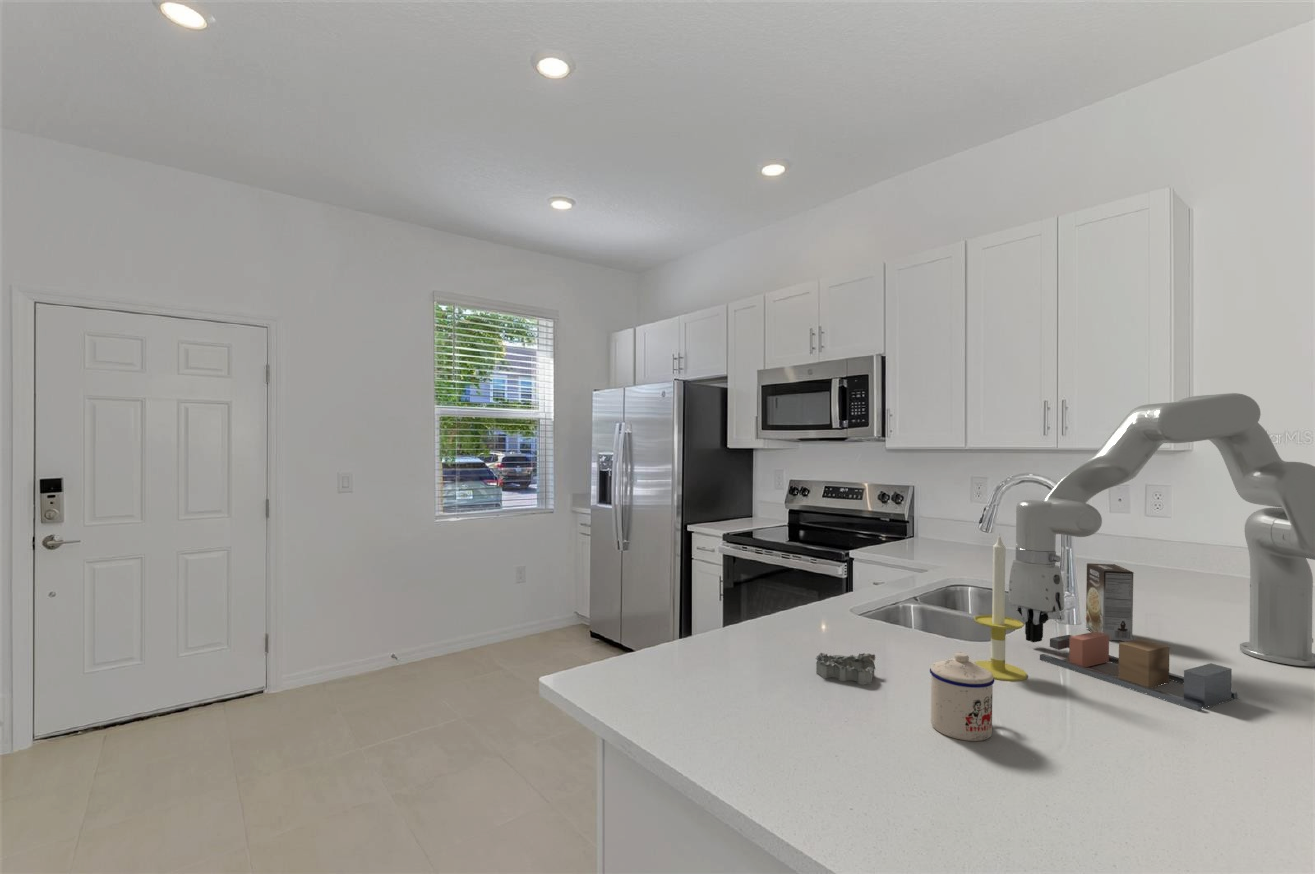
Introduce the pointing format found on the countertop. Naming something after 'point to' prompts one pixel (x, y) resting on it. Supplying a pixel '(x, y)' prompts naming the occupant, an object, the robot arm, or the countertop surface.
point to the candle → (999, 623)
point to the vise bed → (1199, 682)
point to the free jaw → (1084, 648)
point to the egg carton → (846, 667)
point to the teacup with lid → (961, 699)
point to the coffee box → (1109, 600)
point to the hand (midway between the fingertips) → (1033, 640)
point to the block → (1144, 662)
